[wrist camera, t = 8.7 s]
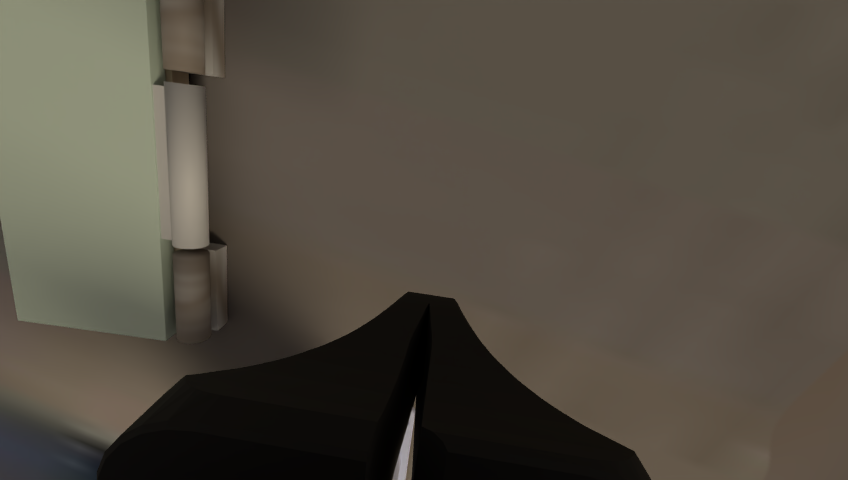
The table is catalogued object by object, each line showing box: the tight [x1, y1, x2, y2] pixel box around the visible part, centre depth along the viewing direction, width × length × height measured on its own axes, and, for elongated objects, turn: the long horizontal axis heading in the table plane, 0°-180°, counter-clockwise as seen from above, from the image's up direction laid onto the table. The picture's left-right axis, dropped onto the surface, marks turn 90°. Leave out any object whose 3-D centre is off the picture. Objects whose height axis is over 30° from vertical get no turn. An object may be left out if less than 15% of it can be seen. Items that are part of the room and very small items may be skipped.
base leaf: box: [160, 0, 228, 344], centre depth 20 cm, size 18×11×3 cm, turn 173°
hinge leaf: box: [0, 0, 209, 341], centre depth 19 cm, size 18×10×2 cm, turn 173°
